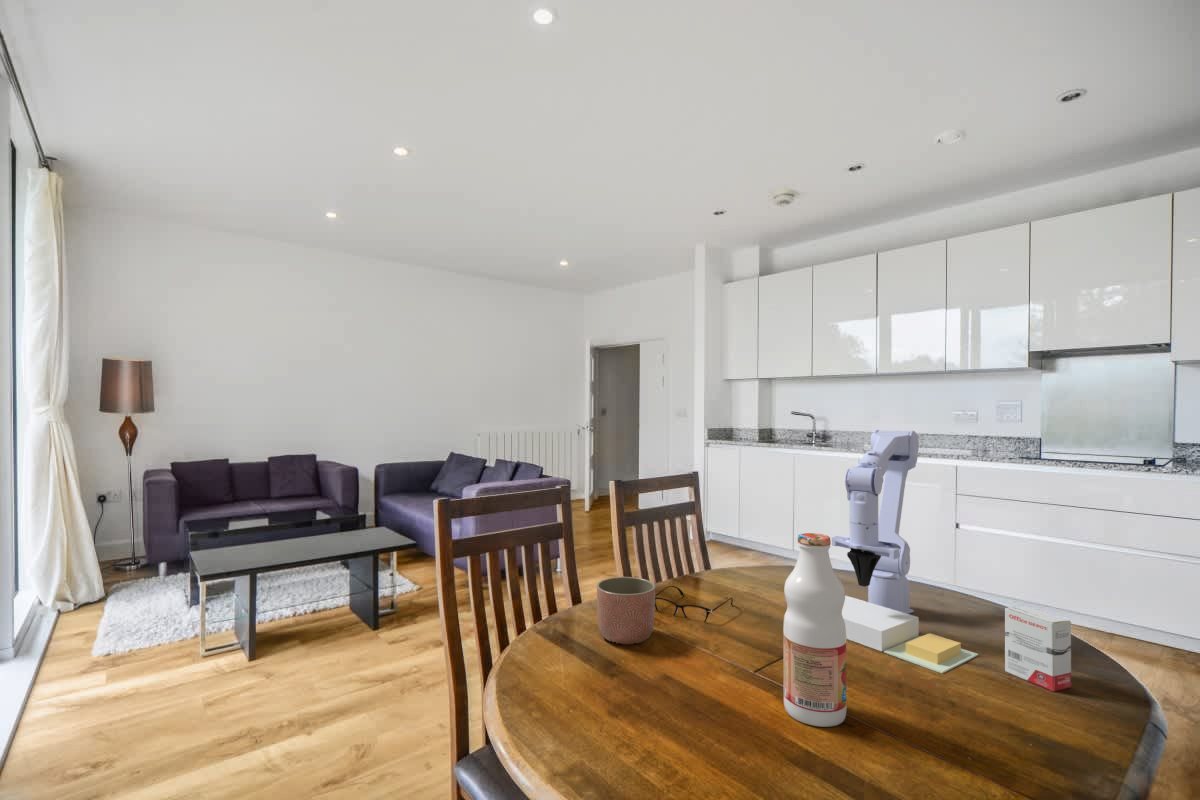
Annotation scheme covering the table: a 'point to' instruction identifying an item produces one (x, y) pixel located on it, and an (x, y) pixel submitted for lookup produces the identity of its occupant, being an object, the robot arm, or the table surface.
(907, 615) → the white box
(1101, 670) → the table surface
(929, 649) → the yellow rectangular block
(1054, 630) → the ink box
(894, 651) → the mat
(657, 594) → the eyeglasses
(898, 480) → the robot arm
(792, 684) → the fruit juice
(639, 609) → the planter
